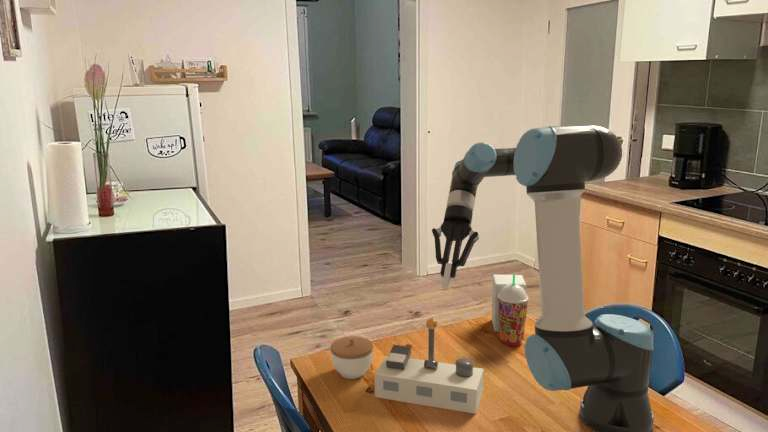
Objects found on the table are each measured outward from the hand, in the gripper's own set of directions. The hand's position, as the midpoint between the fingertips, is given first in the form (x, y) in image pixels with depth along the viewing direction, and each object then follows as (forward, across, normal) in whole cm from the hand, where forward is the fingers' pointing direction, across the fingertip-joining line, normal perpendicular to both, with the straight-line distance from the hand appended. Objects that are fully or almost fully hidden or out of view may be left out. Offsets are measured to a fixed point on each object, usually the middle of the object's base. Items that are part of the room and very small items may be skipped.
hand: (445, 288), depth 152 cm
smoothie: (+3, -16, -26) cm, 31 cm away
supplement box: (-4, -14, -34) cm, 37 cm away
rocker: (+20, +8, +3) cm, 22 cm away
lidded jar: (+24, +21, -5) cm, 32 cm away
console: (+27, 0, -2) cm, 27 cm away
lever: (+21, 0, +2) cm, 21 cm away
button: (+22, -8, +1) cm, 23 cm away
